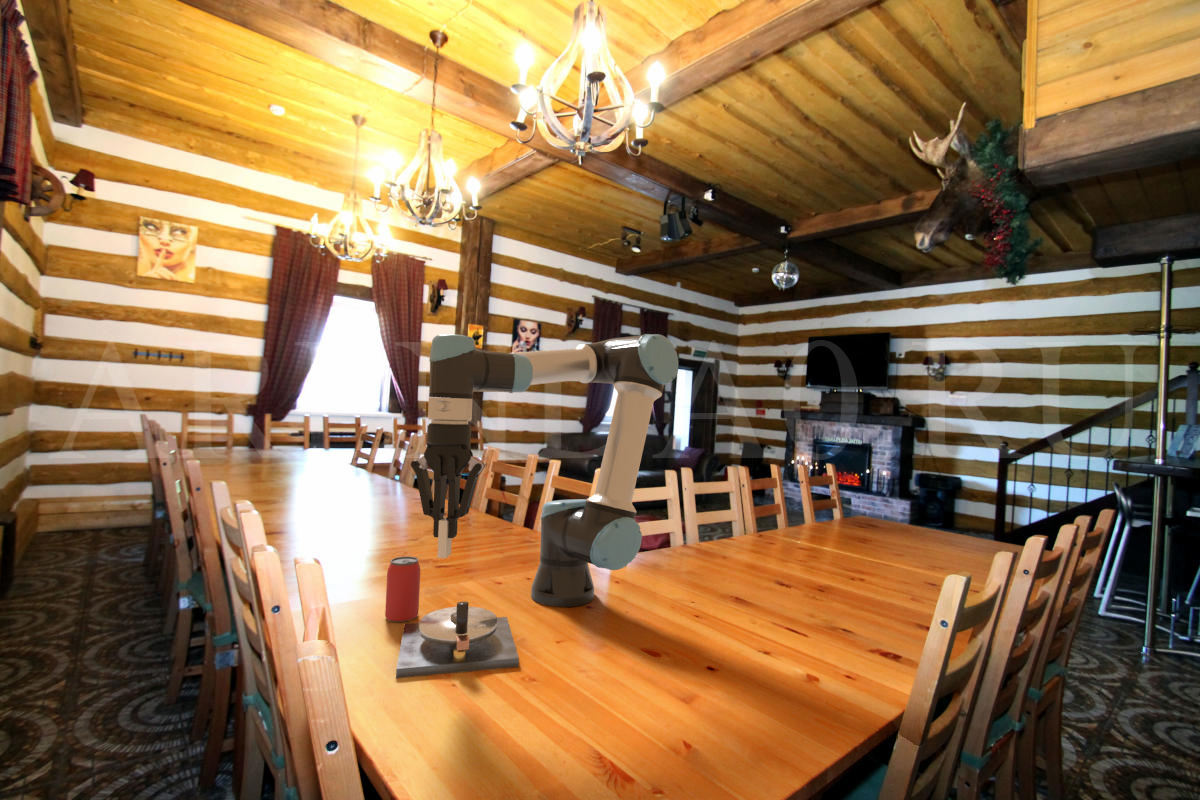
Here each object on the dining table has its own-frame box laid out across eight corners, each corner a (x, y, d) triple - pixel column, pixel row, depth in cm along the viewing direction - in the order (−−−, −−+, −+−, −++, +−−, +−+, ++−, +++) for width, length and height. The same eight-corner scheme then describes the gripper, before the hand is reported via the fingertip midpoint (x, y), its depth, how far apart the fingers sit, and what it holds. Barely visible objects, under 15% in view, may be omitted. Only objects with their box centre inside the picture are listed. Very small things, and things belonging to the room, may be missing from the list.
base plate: (506, 624, 112) (507, 607, 112) (518, 666, 94) (519, 646, 94) (404, 631, 107) (405, 613, 107) (395, 678, 88) (396, 656, 88)
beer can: (407, 625, 110) (410, 565, 110) (378, 621, 111) (381, 562, 111) (424, 613, 116) (426, 557, 116) (396, 610, 117) (399, 554, 118)
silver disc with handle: (418, 617, 105) (420, 583, 105) (491, 611, 109) (493, 579, 109) (419, 654, 89) (421, 614, 89) (504, 645, 94) (505, 607, 94)
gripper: (404, 421, 93) (399, 559, 92) (479, 424, 92) (473, 564, 91) (422, 420, 100) (417, 548, 100) (491, 423, 99) (486, 552, 99)
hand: (444, 555), depth 95 cm, fingers closed
